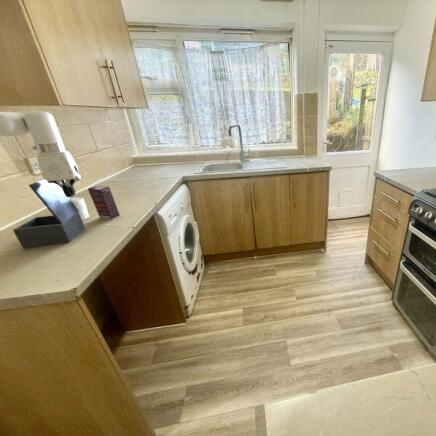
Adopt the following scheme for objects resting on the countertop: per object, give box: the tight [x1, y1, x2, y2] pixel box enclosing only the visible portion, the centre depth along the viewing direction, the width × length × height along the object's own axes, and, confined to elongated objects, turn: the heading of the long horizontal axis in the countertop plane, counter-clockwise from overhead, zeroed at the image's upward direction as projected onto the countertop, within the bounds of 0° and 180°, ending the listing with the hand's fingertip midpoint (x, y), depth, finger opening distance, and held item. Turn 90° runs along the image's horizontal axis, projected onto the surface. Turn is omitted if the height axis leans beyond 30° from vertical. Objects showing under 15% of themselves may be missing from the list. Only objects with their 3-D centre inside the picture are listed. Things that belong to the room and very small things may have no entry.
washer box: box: [12, 213, 86, 250], centre depth 100 cm, size 16×13×9 cm
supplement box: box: [87, 185, 121, 220], centre depth 119 cm, size 9×5×16 cm, turn 71°
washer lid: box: [28, 178, 79, 224], centre depth 96 cm, size 16×13×1 cm
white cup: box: [69, 196, 90, 221], centre depth 120 cm, size 8×8×10 cm
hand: (71, 195), depth 97 cm, fingers closed
